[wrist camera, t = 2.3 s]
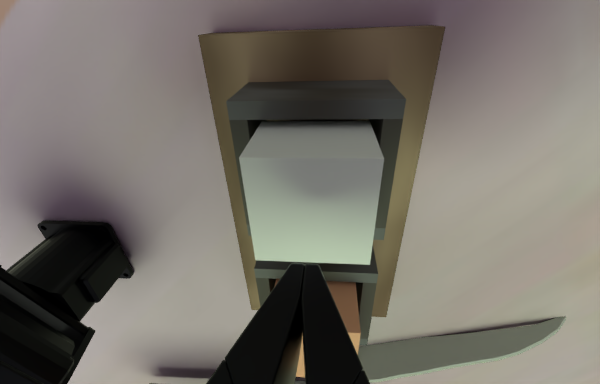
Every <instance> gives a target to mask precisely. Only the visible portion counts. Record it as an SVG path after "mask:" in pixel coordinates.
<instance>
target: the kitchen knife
mask: <svg viewBox="0 0 600 384" xmlns="http://www.w3.org/2000/svg"><path fill="white" fill-rule="evenodd" d="M565 320H566V316H565V317H558V318H554V319H551V320H548V321H545V322H542V323H539V324H536V325H531V326H523V327H515V328H506V329H498V330H490V331H482V332H473V333H465V334H456V335H445V336H433V337H422V338H415V339H408V340H401V341H395V342H388V343H381V344H374V345H367V346H360V347H359V350H358V357H359V359H360V361H361V364H362V366H363V370H364V371H365V373H366V375H367V377H368V380H369V382H381V381H386V380H391V379H396V378H401V377H408V376H415V375H421V374H425V373H430V372H435V371H440V370H444V369H450V368H456V367H461V366H467V365H473V364H479V363H485V362H492V361H498V360H502V359H505V358H508V357H512V356H515V355H519V354H521V353H523V352H525V351H527V350H529V349H531V348H533V347H535V346H537V345H539V344H541V343H543V342H544V341H546V340H547V339H548V338H550V337H551V336H553V335H554V334H555V333H557V332H558V330H559V329H560V328H561V326H562V325H563V323H564V322H565Z"/></svg>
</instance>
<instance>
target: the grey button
mask: <svg viewBox="0 0 600 384" xmlns="http://www.w3.org/2000/svg"><path fill="white" fill-rule="evenodd" d="M239 161H240V167H241V173H242V179H243V186H244V192H245V198H246V204H247V211H248V217H249V223H250V229H251V236H252V242H253V248H254V254H255V260H261V261H287V262H312V263H338V264H363V265H370V260H371V253H372V245H373V238H374V230H375V223H376V216H377V208H378V201H379V193H380V186H381V178H382V171H383V163H384V157H383V154H382V152H381V149H380V146H379V144H378V141H377V139H376V136H375V133H374V131H373V128H372V125H371V123H370V121H262V122H261V123H260V125H259V127H258V128H257V130H256V131H255V133H254V135H253V136H252V138H251V139H250V141H249V143H248V144H247V146H246V147H245V149H244V151H243V152H242V154H241V155H240V157H239Z"/></svg>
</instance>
